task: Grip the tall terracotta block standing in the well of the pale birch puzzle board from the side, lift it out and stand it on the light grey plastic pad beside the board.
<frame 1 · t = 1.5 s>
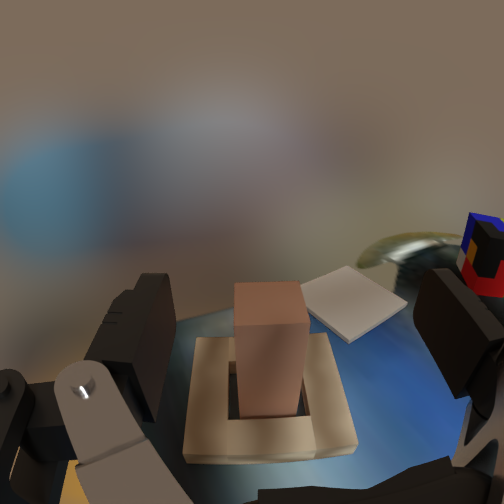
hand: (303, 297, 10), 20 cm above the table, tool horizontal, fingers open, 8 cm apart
grey pad: (347, 300, 42), on the table
puzzle toy: (485, 281, 45), on the table
terracotta block: (267, 358, 26), in the puzzle board
puzzle board: (266, 399, 29), on the table
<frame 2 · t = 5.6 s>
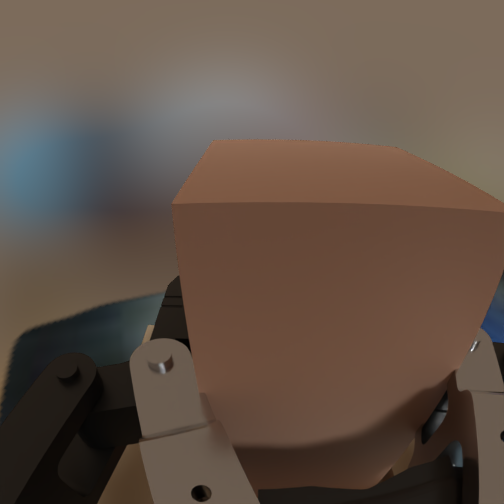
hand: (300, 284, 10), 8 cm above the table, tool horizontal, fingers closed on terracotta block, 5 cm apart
terracotta block: (307, 379, 9), in the puzzle board, touching gripper
puzzle board: (289, 463, 11), on the table
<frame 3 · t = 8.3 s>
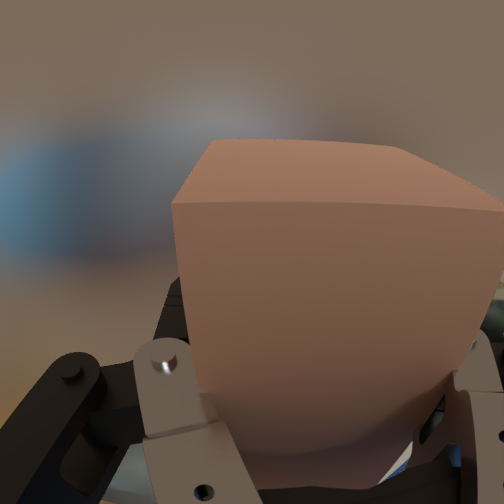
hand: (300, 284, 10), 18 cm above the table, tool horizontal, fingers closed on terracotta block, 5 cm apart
terracotta block: (307, 379, 9), point 16 cm above the table, touching gripper
when the fingers open (9 cm above the table, at t = 11.0 s): terracotta block drops 1 cm, resting on grey pad.
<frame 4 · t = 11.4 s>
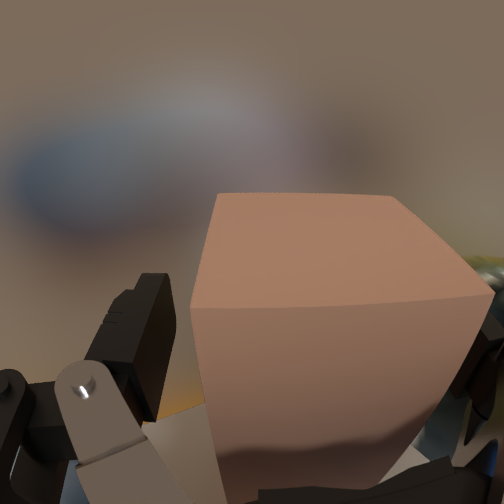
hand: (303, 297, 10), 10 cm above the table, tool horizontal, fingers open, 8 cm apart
grey pad: (285, 480, 12), on the table
terracotta block: (303, 406, 9), on the grey pad, point 7 cm above the table
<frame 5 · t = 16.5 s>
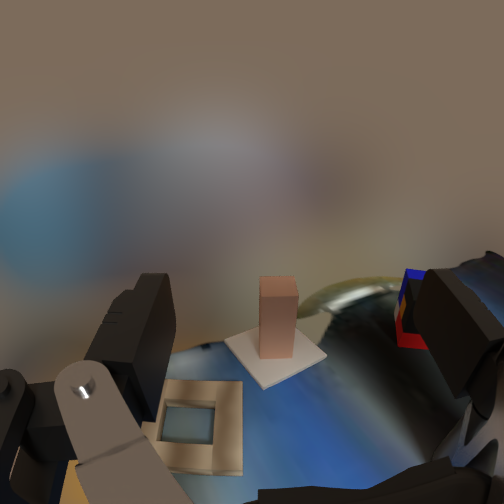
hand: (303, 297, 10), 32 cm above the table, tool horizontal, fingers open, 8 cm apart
grey pad: (274, 350, 51), on the table
puzzle toy: (419, 332, 53), on the table
terracotta block: (276, 319, 48), on the grey pad, point 7 cm above the table
puzzle board: (189, 428, 37), on the table
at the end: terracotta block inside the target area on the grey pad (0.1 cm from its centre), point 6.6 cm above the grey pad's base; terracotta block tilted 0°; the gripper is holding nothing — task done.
